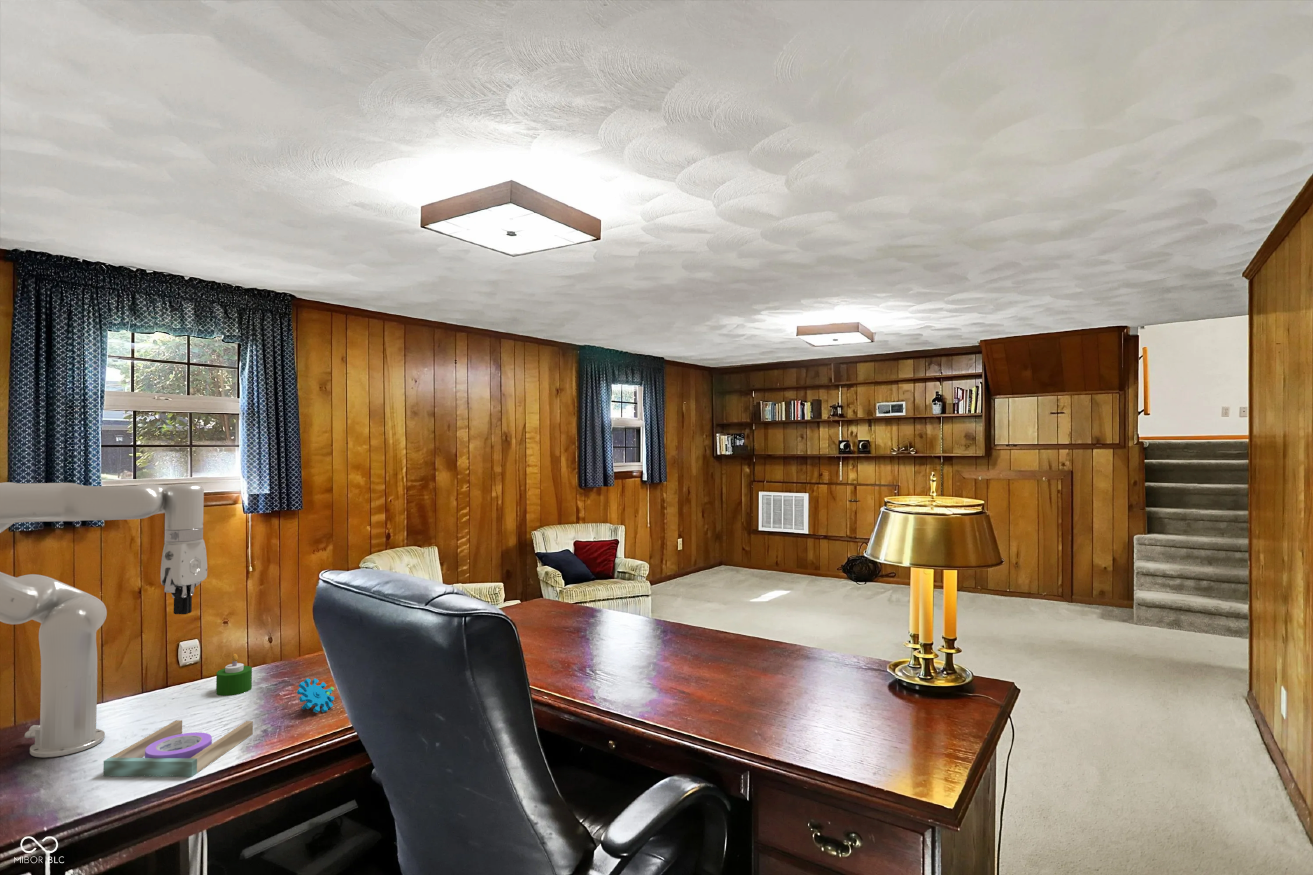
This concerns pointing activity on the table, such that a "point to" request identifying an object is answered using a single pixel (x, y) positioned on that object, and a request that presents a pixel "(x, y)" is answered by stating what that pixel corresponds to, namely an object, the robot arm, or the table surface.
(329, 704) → the gear
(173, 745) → the masking tape
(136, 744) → the bay
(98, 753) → the table surface
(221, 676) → the candle
